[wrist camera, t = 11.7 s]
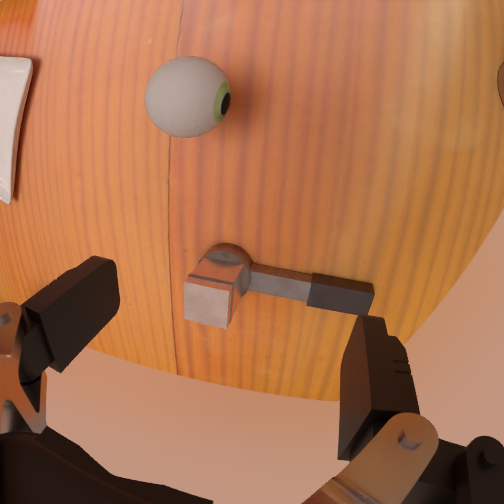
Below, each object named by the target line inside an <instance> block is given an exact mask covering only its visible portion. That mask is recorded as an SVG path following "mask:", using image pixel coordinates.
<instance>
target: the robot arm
mask: <svg viewBox="0 0 504 504" xmlns="http://www.w3.org/2000/svg"><path fill="white" fill-rule="evenodd" d="M498 87H499V93H500V96H501V99H502V102H503V104H504V63H503V64H502V66H501V68H500V70H499V75H498ZM119 305H120V295H119V287H118V278H117V269H116V264H115V262H114V261H113V260H110V259H107V258H103V257H99V256H92V257H90V258H89V259H87V260H86V261H84V262H83V263H82V264H80V265H79V266H77V267H76V268H73V269H71V270H68V271H66V272H65V273H63V274H62V275H61V276H59V277H58V278H57V280H56V279H55V280H54V281H52V282H51V283H50V284H49V286H48V285H47V286H46V287H44V288H43V289H41V290H40V291H39V292H37V293H36V294H35V295H33V296H32V297H31V298H30V299H28V300H27V301H26V302H24V303H23V304H22V305H20V306H19V305H18V304H17V303H14V302H4V303H0V504H213V501H212V500H208V499H205V498H201V497H198V496H195V495H191V494H188V493H185V492H182V491H179V490H176V489H173V488H171V487H168V486H165V485H159V484H153V483H147V482H141V481H136V480H131V479H126V478H122V477H117V476H114V475H112V474H111V473H109V472H108V471H107V470H106V469H105V468H103V467H102V466H101V465H100V464H98V462H96V461H95V460H94V459H93V458H92V457H90V455H89V454H88V453H86V452H85V451H84V450H83V449H82V448H81V447H80V446H79V445H77V444H76V443H74V442H72V441H71V440H69V439H67V438H66V437H64V436H62V435H60V434H59V433H57V432H56V431H54V430H53V429H51V428H50V427H48V426H47V424H46V387H47V375H46V372H45V369H46V368H47V367H48V366H49V367H51V368H53V369H54V370H56V371H58V372H60V373H61V372H62V371H63V370H64V369H65V368H66V367H67V366H68V365H69V363H71V361H72V360H73V359H74V358H75V357H76V356H77V355H78V354H79V353H80V352H81V351H82V350H83V348H84V347H85V346H86V345H87V344H88V343H89V342H90V341H91V340H92V339H93V338H94V337H95V336H96V335H97V334H98V333H99V332H100V330H101V329H102V328H103V327H104V326H105V325H106V324H107V323H108V322H109V321H110V320H111V319H112V318H113V317H114V316H115V315H116V313H117V311H118V309H119ZM408 362H409V361H408V357H407V353H406V349H405V347H404V346H403V345H402V343H401V342H400V341H399V340H398V338H397V337H395V336H389V335H388V333H387V329H386V324H385V320H384V318H382V317H376V316H370V315H364V314H359V315H358V317H357V319H356V322H355V325H354V327H353V330H352V333H351V336H350V338H349V341H348V344H347V346H346V349H345V352H344V355H343V358H342V363H341V370H340V420H339V443H338V460H347V461H350V463H349V464H348V465H347V466H346V467H345V468H344V469H343V470H342V471H341V472H340V473H339V474H338V475H337V476H336V477H333V478H331V479H330V480H329V481H328V482H326V483H325V484H324V485H323V486H322V487H321V488H319V489H318V490H317V491H316V492H315V493H314V494H313V495H311V496H310V497H309V498H308V499H307V500H305V501H304V502H303V503H302V504H504V447H503V445H502V444H501V443H500V442H499V441H497V440H496V439H494V438H492V437H489V436H480V437H477V438H475V439H474V440H473V441H471V443H470V444H469V445H468V446H467V447H464V446H461V445H458V444H454V443H451V442H448V441H444V440H442V439H439V438H438V434H437V431H436V429H435V427H434V426H433V425H432V423H431V422H430V421H429V420H427V419H426V418H424V417H423V416H421V415H420V411H419V406H418V401H417V396H416V392H415V387H414V382H413V378H412V375H411V369H410V365H409V364H408Z"/></svg>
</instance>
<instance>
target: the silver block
mask: <svg viewBox="0 0 504 504" xmlns="http://www.w3.org/2000/svg"><path fill="white" fill-rule="evenodd" d="M243 271H244V264H241V263H235V262H230V261H225V260H219V259H214V258H209V257H204V258H203V259H202V261H201V262H200V263H199V264H198V265H197V266H196V268H195V269H194V270H193V271H192V272H191V274H189V275H188V277H187V278H186V280H185V281H184V314H185V319H186V320H190V321H194V322H198V323H202V324H206V325H210V326H214V327H219V328H223V329H227V327H228V325H229V323H230V322H231V319H232V317H233V315H234V313H235V310H236V308H237V306H238V304H239V302H240V300H241V292H242V282H243Z"/></svg>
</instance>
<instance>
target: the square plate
mask: <svg viewBox="0 0 504 504" xmlns="http://www.w3.org/2000/svg"><path fill="white" fill-rule="evenodd" d="M32 74H33V64H32V61H31V59H29V58H23V57H4V56H0V200H2V201H3V202H5V203H6V204H8V205H10V204H11V200H12V196H13V191H14V183H15V171H16V158H17V149H18V141H19V133H20V127H21V121H22V116H23V111H24V107H25V103H26V99H27V95H28V90H29V86H30V82H31V78H32Z"/></svg>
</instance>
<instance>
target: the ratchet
mask: <svg viewBox="0 0 504 504" xmlns="http://www.w3.org/2000/svg"><path fill="white" fill-rule="evenodd" d="M204 257H209V258H214V259H219V260H225V261H230V262H235V263H241V264H244V271H243V282H242V292H241V297H242V296H243V295H244V294H245V293H246V291H247V290H250V291H254V292H259V293H264V294H269V295H274V296H279V297H284V298H289V299H294V300H299V301H304V302H307V305H306V306H311V307H316V308H321V309H327V310H332V311H338V312H343V313H349V314H354V315H359V314H364V315H368V312H369V309H370V307H371V304H372V301H373V298H374V295H375V293H374V289H373V285H372V284H370V283H365V282H359V281H354V280H349V279H343V278H338V277H333V276H328V275H322V274H317V273H313V274H312V275H311V274H306V273H301V272H296V271H290V270H285V269H280V268H275V267H270V266H265V265H260V264H255V263H253V262H252V260H251V258H250V256H249V255H248V254H247V253H246V252H245V251H244V250H243V249H242V248H240V247H238V246H236V245H233V244H228V243H223V244H218V245H215V246H213V247H212V248H211V249H209V251H208V252H207V253H206V254H205V255H204V256H203V258H204ZM203 258H202V259H203ZM202 259H201V260H200V261H199V263H200V262H201V261H202ZM199 263H198V264H199Z"/></svg>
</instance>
